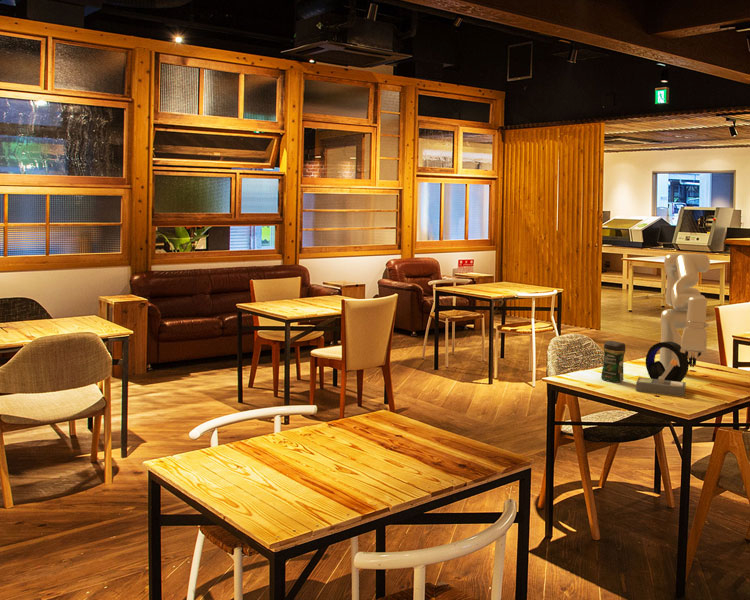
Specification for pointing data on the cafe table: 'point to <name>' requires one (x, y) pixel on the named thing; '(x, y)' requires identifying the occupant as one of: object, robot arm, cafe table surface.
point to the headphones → (657, 367)
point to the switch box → (660, 386)
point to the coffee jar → (613, 361)
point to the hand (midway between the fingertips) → (692, 366)
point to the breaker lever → (669, 368)
